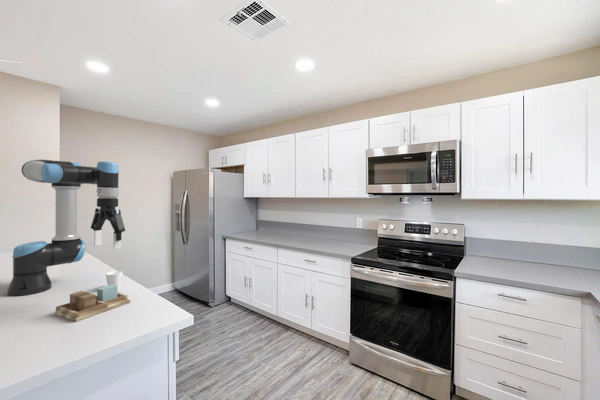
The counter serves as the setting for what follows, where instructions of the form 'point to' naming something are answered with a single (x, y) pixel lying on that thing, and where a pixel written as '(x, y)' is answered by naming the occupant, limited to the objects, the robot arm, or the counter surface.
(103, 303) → the tray
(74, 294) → the brown wooden block
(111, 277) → the cup
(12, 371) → the counter surface
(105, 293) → the pale teal block
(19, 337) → the counter surface
